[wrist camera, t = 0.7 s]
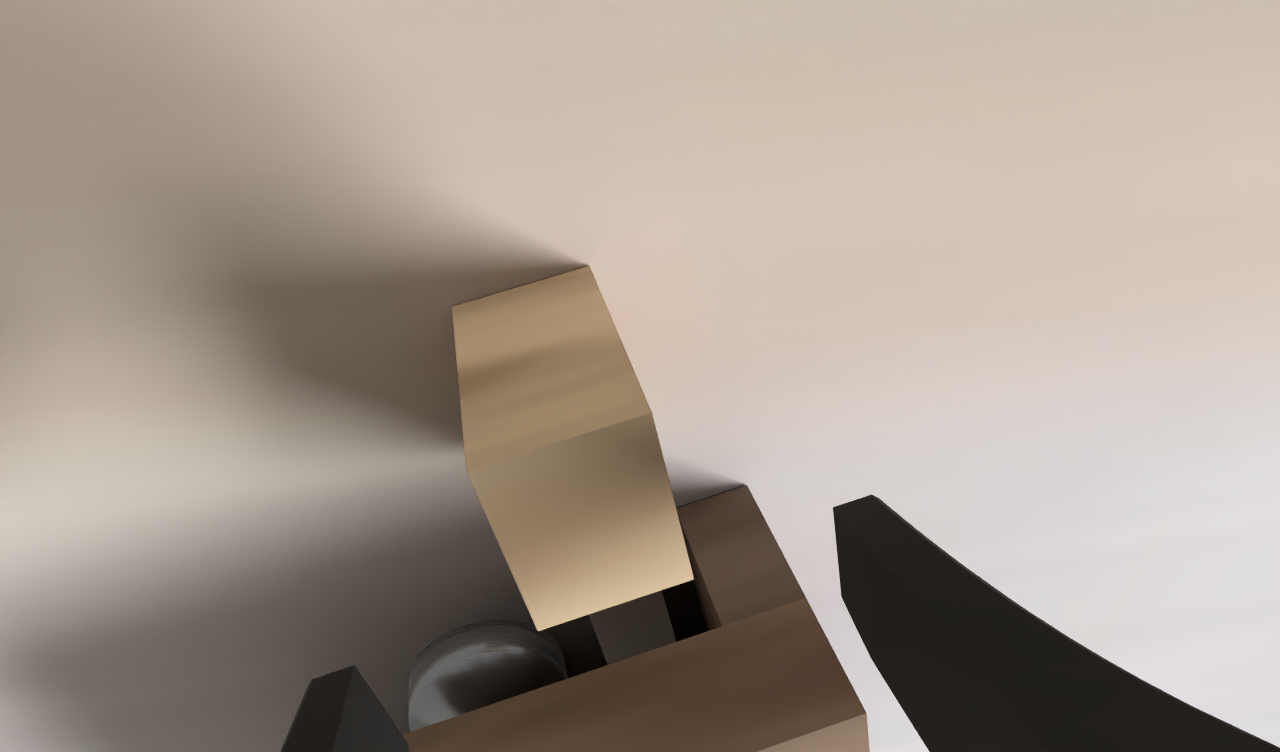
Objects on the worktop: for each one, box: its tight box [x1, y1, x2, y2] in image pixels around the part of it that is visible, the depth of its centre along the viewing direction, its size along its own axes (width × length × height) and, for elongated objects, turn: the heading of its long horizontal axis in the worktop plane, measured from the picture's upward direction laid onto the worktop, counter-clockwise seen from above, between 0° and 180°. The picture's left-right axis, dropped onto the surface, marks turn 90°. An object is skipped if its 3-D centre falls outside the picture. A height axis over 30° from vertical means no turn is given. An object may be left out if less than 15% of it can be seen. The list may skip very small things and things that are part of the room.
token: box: [408, 620, 568, 732], centre depth 23 cm, size 4×4×2 cm
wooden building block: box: [452, 266, 694, 665], centre depth 19 cm, size 15×3×6 cm, turn 12°
